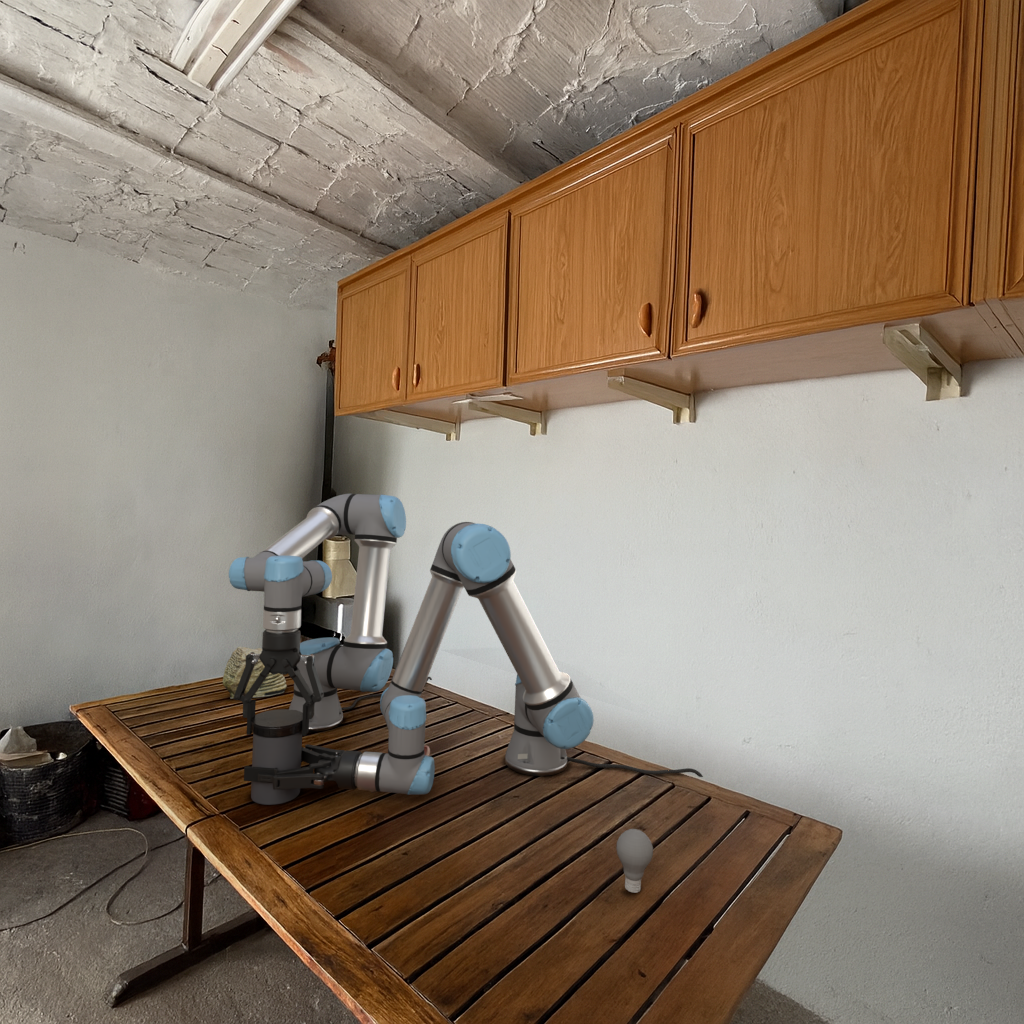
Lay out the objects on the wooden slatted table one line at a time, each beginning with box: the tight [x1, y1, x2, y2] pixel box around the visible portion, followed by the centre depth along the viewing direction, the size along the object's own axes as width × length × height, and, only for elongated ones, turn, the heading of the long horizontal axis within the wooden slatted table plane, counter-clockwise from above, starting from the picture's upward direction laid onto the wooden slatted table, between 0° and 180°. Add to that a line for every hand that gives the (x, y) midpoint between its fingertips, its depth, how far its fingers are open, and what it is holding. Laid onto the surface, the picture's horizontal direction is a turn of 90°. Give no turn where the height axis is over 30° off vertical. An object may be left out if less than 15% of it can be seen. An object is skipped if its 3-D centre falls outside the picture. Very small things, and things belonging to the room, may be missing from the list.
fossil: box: [222, 646, 288, 699], centre depth 198 cm, size 9×18×15 cm, turn 132°
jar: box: [250, 730, 303, 806], centre depth 134 cm, size 10×10×16 cm
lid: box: [251, 708, 303, 737], centre depth 134 cm, size 11×11×2 cm
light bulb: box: [615, 828, 654, 894], centre depth 106 cm, size 6×6×10 cm
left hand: (277, 733), depth 134 cm, fingers closed on lid, 11 cm apart
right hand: (257, 762), depth 134 cm, fingers closed on jar, 10 cm apart
